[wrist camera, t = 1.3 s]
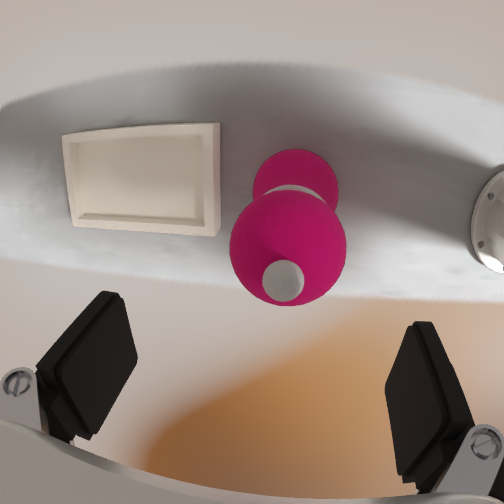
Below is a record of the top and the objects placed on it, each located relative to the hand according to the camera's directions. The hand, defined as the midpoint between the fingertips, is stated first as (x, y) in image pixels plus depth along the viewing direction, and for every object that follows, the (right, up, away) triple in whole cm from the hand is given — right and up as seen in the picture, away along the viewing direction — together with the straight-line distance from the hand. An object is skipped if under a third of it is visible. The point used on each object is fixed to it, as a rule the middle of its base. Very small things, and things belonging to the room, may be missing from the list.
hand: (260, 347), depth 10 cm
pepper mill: (+4, +10, +21) cm, 24 cm away
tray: (-12, +11, +23) cm, 28 cm away
